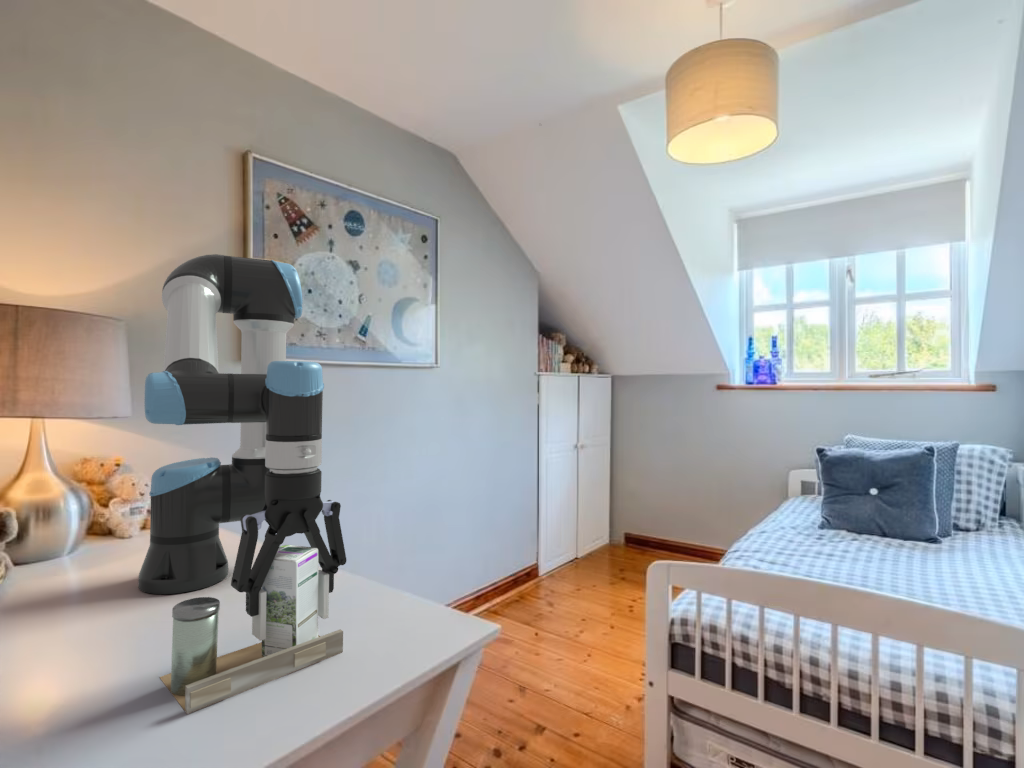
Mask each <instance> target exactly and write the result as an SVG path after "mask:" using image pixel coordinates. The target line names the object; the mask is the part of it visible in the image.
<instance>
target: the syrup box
mask: <svg viewBox="0 0 1024 768" xmlns="http://www.w3.org/2000/svg"><path fill="white" fill-rule="evenodd" d="M318 570H319V562H318V548H315V547H311V546H301V545H292V544H290V545H289V544H283V545H280V546H279V549H278V551H277V553H276V555H275V558H274V560H273V562H272V565H271V567H270V569H269V571H268V574H267V576H266V578H265V580H264V583H263V585H262V587H261V588H262V589H263V590H265V591H266V592H267V593H266V639H264V640H261V642H262V657H265V656H268V655H271V654H274V653H276V652H279V651H282V650H285V649H287V648H290V647H293V646H296V645H298V644H301V643H304V642H307V641H309V640H312V639H315V638H318V635H319V616H318Z"/></svg>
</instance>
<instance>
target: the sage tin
mask: <svg viewBox="0 0 1024 768" xmlns="http://www.w3.org/2000/svg"><path fill="white" fill-rule="evenodd" d="M220 607H221V601H220V600H219V599H218V598H215V597H211V596H208V597H207V596H202V597H194V598H189V599H185V600H183V601H181V602H177V604H175V605H174V606H173V607H172V612H171V613H172V616H171V617H172V635H171V637H172V641H171V666H170V669H171V670H170V673H171V692H172V693H173V694H175V695H179V696H185V686H186V685H188V684H191V683H194V682H197V681H199V680H202V679H205V678H208V677H210V676H213V675H216V669H217V657H218V638H219V615H220V613H219V611H220V609H221V608H220ZM171 692H170V693H171ZM172 693H171V694H172Z"/></svg>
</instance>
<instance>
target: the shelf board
mask: <svg viewBox="0 0 1024 768" xmlns="http://www.w3.org/2000/svg"><path fill="white" fill-rule="evenodd" d="M343 652H344V630H342V629H337V630H335V631H331V632H330V633H329V632H328V633H326V634H322V635H321V636H320V635H319V634H318V638H315V639H312V640H309V641H307V642H304V643H301V644H298V645H296V646H293V647H290V648H287V649H285V650H282V651H279V652H276V653H274V654H271V655H268V656H265V657H262V641H259V642H258V643H255V644H252V645H248V646H247V647H243V648H239V649H238V650H234V651H231V652H229V653H226V654H223V655H219V656H217V669H216V675H213V676H210V677H208V678H205V679H202V680H199V681H197V682H194V683H191V684H188V685H186V686H185V696H179V695H175V694H173V693H172V692H171V672H170V673H168V674H164V675H161V676H159V679H160V681H162V683H163V684H164V685H165V687H166V688H167V689H168V691H169V692H170V694H171V695H172V696H173V697H174V699H175V700H176V701H177V703H178V704H179V706H180V707H181V708H182V710H183V711H184V712H185V713H186V715H189V714H192V713H195V712H197V711H199V710H202V709H204V708H207V707H209V706H212V705H214V704H216V703H219V702H222V701H224V700H226V699H230V698H231V697H234V696H237V695H240V694H242V693H244V692H247V691H249V690H252V689H254V688H257V687H259V686H262V685H264V684H266V683H270V682H272V681H275V680H277V679H280V678H281V677H284V676H286V675H287V676H288V675H290V674H292V673H294V672H297V671H299V670H302V669H304V668H307V667H309V666H312V665H314V664H317V663H319V662H322V661H324V660H327V659H329V658H331V657H335V656H337V655H340V654H341V653H343Z"/></svg>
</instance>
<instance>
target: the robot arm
mask: <svg viewBox="0 0 1024 768" xmlns="http://www.w3.org/2000/svg"><path fill="white" fill-rule="evenodd" d="M301 285H302V283H301V279H300V276H299V273H298V271H297V269H296V268H295V266H293V265H292V264H290V263H288V262H287V263H286V262H280V261H275V260H274V259H271V260H270V259H262V258H261V259H260V258H253V257H252V258H251V257H244V256H243V257H241V256H232V255H231V256H230V255H225V254H216V253H214V254H204V255H200V256H199V255H198V256H195V257H193V258H191V259H189V260H186V261H185V262H183V263H181V264H180V265H178V266H176V267H175V268H174V270H173V271H171V272H170V274H168V276H167V277H166V279H165V281H164V283H163V286H162V291H161V301H162V304H163V306H164V308H165V310H166V311H167V315H166V316H167V317H166V330H165V341H164V342H165V344H164V354H163V355H164V358H163V369H162V370H163V371H160V372H151V373H148V374H147V376H146V377H145V381H144V398H143V399H144V417H145V419H146V420H147V422H149V423H151V424H155V425H175V426H182V425H184V426H185V425H204V424H205V425H206V424H211V425H212V424H226V423H227V424H239V423H240V438H239V439H240V443H239V444H240V445H239V448H238V449H237V450H235V452H234V453H232V455H231V463H230V464H229V463H228V464H221V463H222V462H221V461H220V458H218V457H201V458H191V459H187V460H182V461H177V462H173V463H169V464H166V465H163V466H161V467H159V468H157V469H156V470H154V472H153V473H152V475H151V482H150V491H149V494H148V495H149V496H150V521H149V522H150V523H149V524H150V525H149V526H150V528H149V530H150V531H149V538H150V539H149V546H148V549H147V552H146V555H145V558H144V560H143V562H142V565H141V568H140V570H139V573H138V583H137V584H138V589H139V590H140V591H141V592H144V593H147V594H152V595H153V594H154V595H171V594H172V595H173V594H182V593H188V592H193V591H196V590H197V591H198V590H201V589H204V588H208V587H211V586H213V585H216V584H217V583H220V582H222V581H224V579H226V578H227V576H228V575H229V560H228V558H227V556H226V553H225V552H226V551H225V549H224V547H223V544H222V541H221V539H220V524H223V523H224V524H225V523H235V522H240V526H241V535H240V540H239V544H238V548H237V553H236V559H235V563H234V567H233V572H232V575H231V580H230V586H231V587H232V588H233V589H234V590H235V591H237V592H238V593H245V612H246V614H247V615H248V616H250V618H251V617H252V618H251V619H252V621H251V634H252V636H254V638H256V639H258V640H259V642H262V640H264V639H266V593H267V592H266V591H265V590H263V589H262V585H263V583H264V580H265V578H266V576H267V574H268V571H269V569H270V567H271V565H272V562H273V560H274V558H275V555H276V553H277V551H278V549H279V547H280V546H282V544H284V541H285V539H286V537H291V536H294V535H295V534H304V536H305V538H306V540H307V542H308V544H309V547H315V548H318V566H320V568H321V569H318V618H321V619H323V620H326V619H328V618H329V610H330V609H329V607H330V602H329V601H330V600H329V599H330V593H331V594H332V593H333V591H334V589H335V587H334V586H335V585H334V583H335V574H337V573H338V571H339V567H340V566H344V565H346V563H347V554H346V549H345V543H344V539H343V538H344V537H343V532H342V529H341V528H342V527H341V521H340V513H341V507H342V506H341V503H340V502H338V501H335V500H331V499H328V500H326V501H323V500H322V498H321V492H322V475H323V473H322V470H321V469H320V468H319V466H320V465H322V458H323V457H322V455H323V454H322V452H323V451H322V448H323V447H322V446H323V445H322V444H323V439H322V438H323V437H322V436H323V433H322V432H323V399H324V398H323V396H324V395H323V394H324V388H325V383H324V379H323V367H322V365H321V364H320V363H319V362H316V361H300V360H299V361H296V360H294V361H293V360H290V361H289V360H287V333H289V331H290V330H291V329H292V328H294V325H295V319H296V320H297V319H300V318H301V317H302V314H303V291H302V286H301ZM217 313H222V314H232V315H233V324H234V325H235V326H236V327H237V328H238V330H240V332H241V355H240V357H241V358H240V359H241V360H240V361H241V363H240V365H241V366H240V367H241V368H240V371H241V373H224V372H223V373H220V368H219V366H220V365H219V352H218V351H219V349H218V347H219V346H218V334H217V333H218V332H217V331H218V330H217V329H218V328H217ZM149 496H148V497H149ZM320 513H321V514H322V515H323V520H324V527H325V531H326V536H327V537H326V538H327V543H328V547H327V544H326V543H325V541H324V539H323V537H322V535H321V530H320V528H319V525H318V523H317V521H316V519H318V517H319V515H320ZM264 521H265V523H267V524H268V527H267V530H266V533H265V534H264V540H263V543H262V544H261V546H260V548H259V552H258V554H257V556H256V558H255V560H254V557H255V553H256V547H257V543H258V539H259V530H260V529H261V528H262V524H263V522H264ZM253 561H254V562H253Z"/></svg>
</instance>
